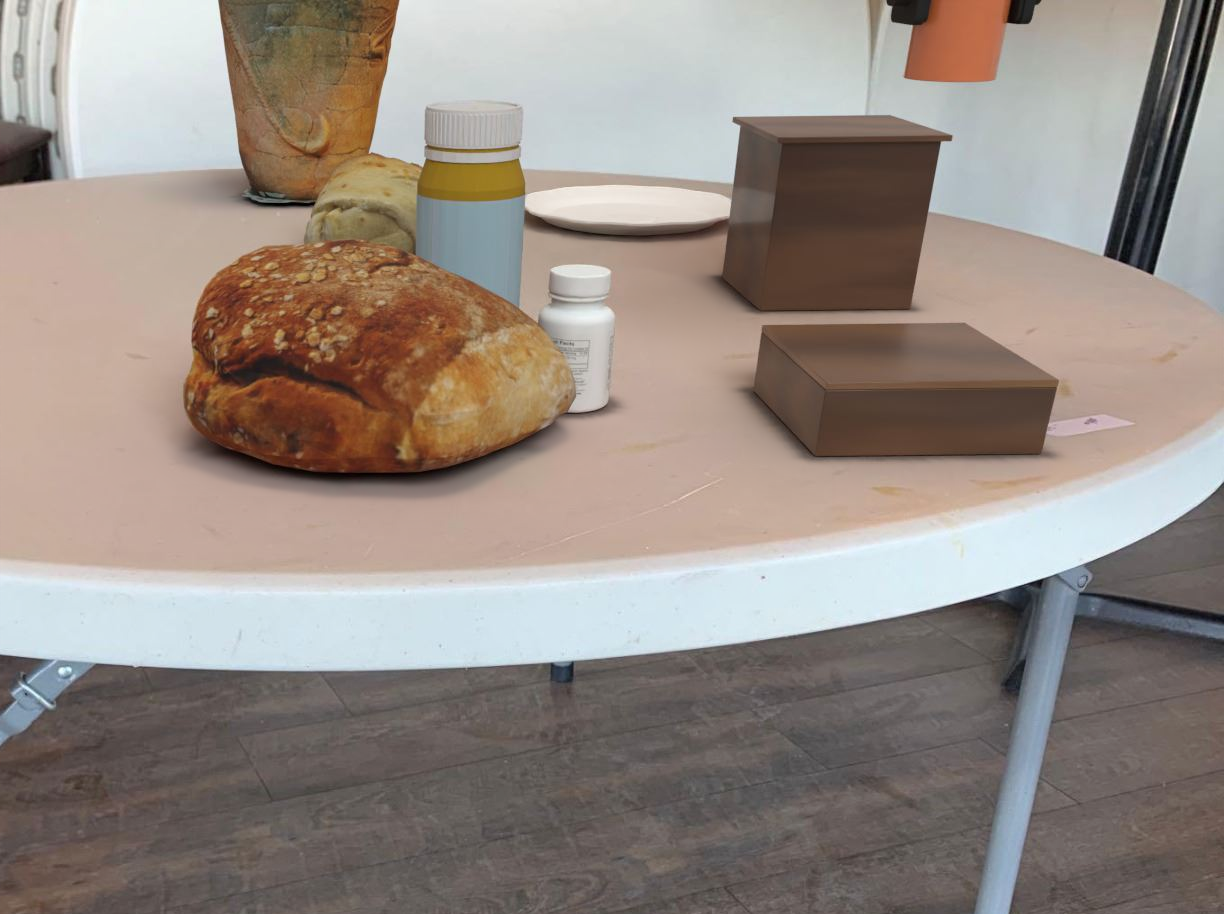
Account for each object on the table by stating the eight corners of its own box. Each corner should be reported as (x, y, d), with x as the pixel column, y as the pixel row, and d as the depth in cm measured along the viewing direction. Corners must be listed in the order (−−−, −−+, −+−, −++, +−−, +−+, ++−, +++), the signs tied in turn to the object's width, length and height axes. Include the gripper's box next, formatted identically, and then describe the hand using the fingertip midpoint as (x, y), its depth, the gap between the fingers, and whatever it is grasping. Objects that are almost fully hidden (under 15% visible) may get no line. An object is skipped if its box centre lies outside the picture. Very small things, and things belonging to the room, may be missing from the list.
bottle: (475, 361, 91) (485, 114, 84) (393, 343, 95) (395, 107, 88) (537, 340, 96) (551, 104, 88) (456, 324, 100) (463, 97, 93)
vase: (438, 208, 141) (448, -135, 127) (240, 218, 137) (228, -135, 123) (386, 177, 159) (389, -127, 145) (210, 185, 156) (195, -126, 142)
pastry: (409, 233, 130) (411, 141, 126) (479, 258, 120) (483, 159, 116) (270, 247, 125) (267, 152, 121) (330, 274, 115) (330, 171, 111)
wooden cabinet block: (920, 310, 102) (953, 135, 96) (754, 312, 102) (778, 137, 96) (863, 274, 112) (890, 114, 107) (713, 276, 112) (732, 116, 107)
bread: (350, 366, 90) (350, 205, 86) (612, 412, 81) (628, 235, 76) (140, 453, 76) (125, 264, 71) (430, 522, 66) (436, 310, 62)
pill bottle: (573, 388, 86) (583, 258, 82) (623, 405, 82) (636, 271, 79) (517, 400, 84) (525, 268, 80) (567, 418, 80) (577, 281, 77)
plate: (784, 221, 133) (787, 203, 132) (645, 251, 121) (647, 231, 121) (612, 194, 147) (614, 178, 146) (472, 219, 135) (473, 201, 135)
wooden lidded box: (1041, 454, 74) (1059, 379, 72) (814, 456, 74) (826, 382, 72) (951, 388, 85) (965, 322, 83) (752, 390, 85) (761, 324, 83)
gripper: (882, -457, 58) (812, 29, 66) (1290, -460, 58) (1168, 26, 66) (824, -417, 65) (768, 20, 73) (1191, -420, 65) (1091, 17, 73)
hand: (959, 18), depth 70 cm, fingers closed on spice jar, 4 cm apart
